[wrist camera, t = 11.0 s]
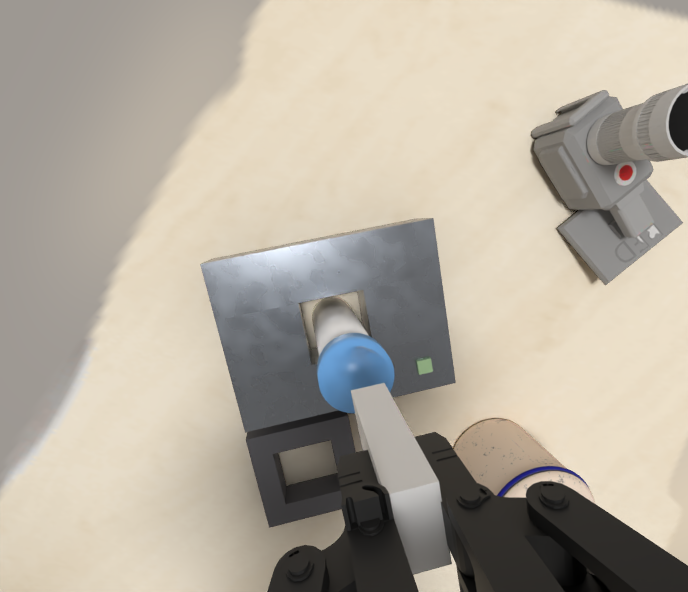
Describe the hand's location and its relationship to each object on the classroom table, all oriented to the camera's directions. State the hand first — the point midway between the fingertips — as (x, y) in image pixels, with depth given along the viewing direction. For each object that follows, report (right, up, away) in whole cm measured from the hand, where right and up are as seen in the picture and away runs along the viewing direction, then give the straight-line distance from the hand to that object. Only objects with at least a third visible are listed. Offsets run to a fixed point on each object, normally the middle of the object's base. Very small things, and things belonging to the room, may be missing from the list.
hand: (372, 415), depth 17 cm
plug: (-2, +3, +18) cm, 18 cm away
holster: (-5, -10, +20) cm, 23 cm away
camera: (+21, +15, +19) cm, 32 cm away
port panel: (-2, +3, +18) cm, 18 cm away
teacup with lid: (+15, -12, +23) cm, 30 cm away
